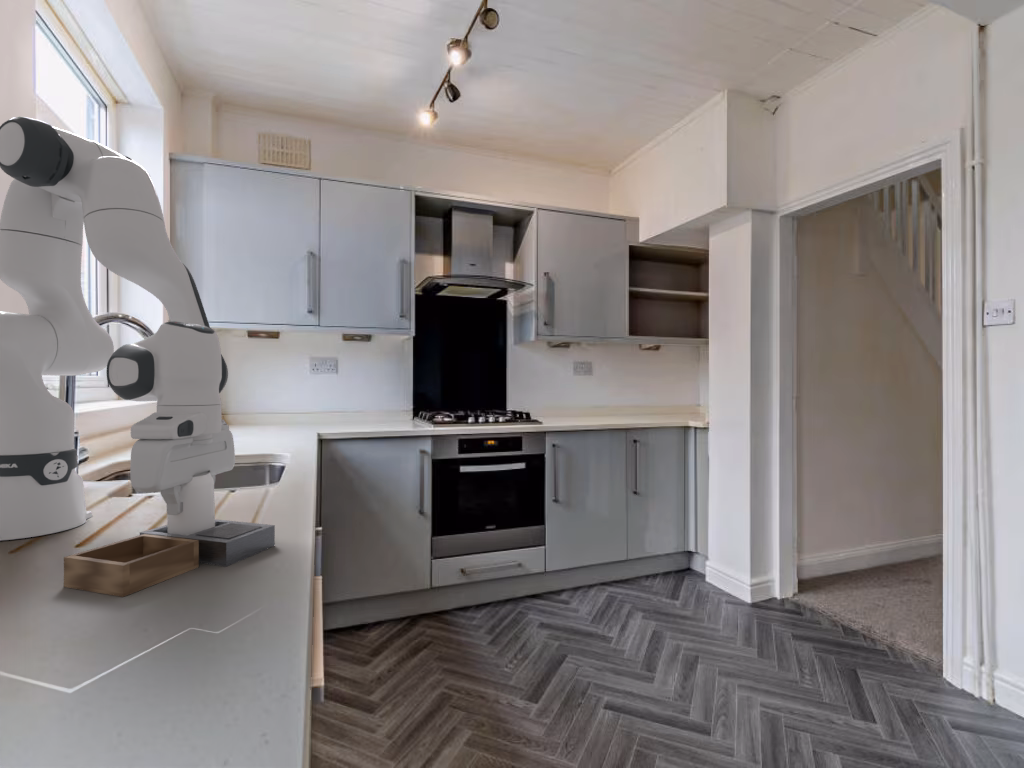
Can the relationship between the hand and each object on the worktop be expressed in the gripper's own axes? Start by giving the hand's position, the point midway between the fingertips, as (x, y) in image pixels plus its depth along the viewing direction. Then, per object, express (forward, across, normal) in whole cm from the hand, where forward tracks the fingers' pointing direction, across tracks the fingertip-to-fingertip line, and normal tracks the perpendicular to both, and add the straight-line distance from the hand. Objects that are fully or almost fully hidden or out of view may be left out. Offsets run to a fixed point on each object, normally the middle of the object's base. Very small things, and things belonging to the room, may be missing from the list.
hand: (189, 508), depth 81 cm
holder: (+6, +12, 0) cm, 13 cm away
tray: (+6, +1, +4) cm, 8 cm away
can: (+6, -1, 0) cm, 7 cm away
